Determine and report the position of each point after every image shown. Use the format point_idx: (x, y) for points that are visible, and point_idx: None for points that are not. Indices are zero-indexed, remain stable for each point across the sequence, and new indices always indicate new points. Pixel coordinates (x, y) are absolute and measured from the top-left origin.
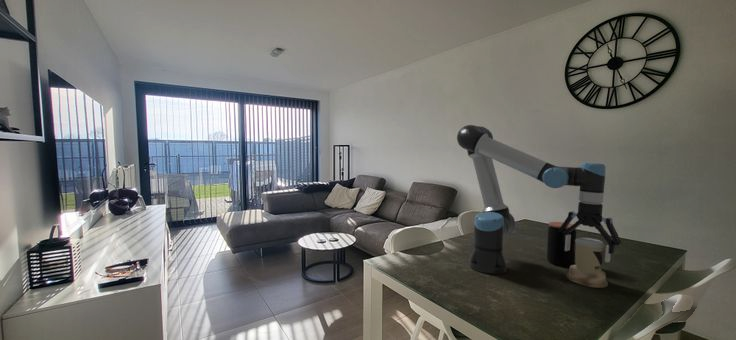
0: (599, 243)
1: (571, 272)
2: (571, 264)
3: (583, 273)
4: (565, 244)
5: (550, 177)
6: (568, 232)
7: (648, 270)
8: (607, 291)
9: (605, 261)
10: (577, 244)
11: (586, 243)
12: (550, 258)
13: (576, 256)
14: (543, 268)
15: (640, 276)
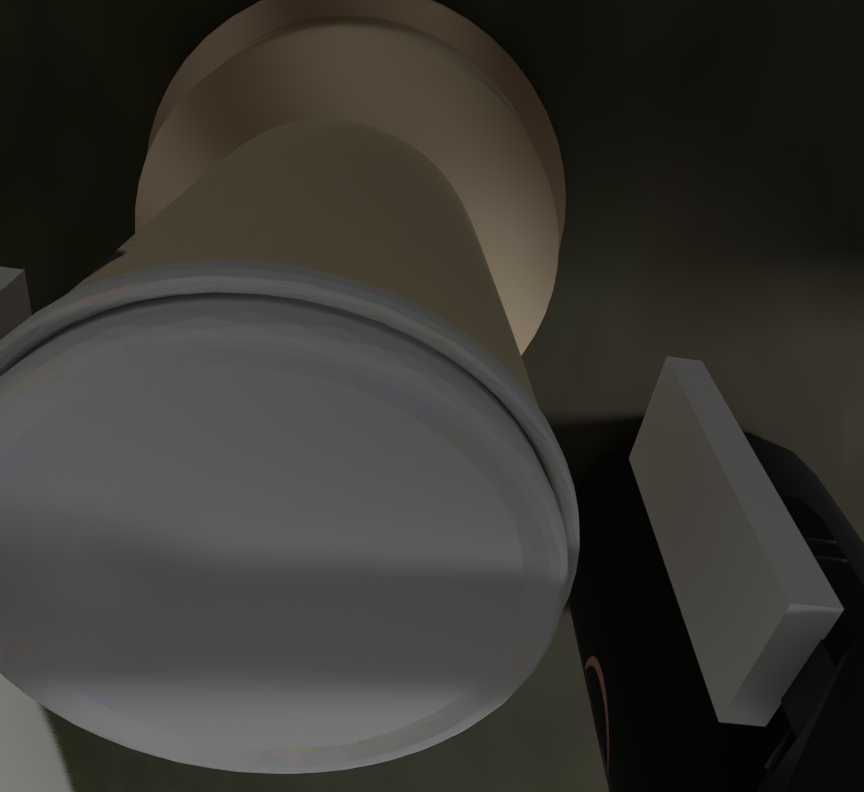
0: (11, 554)
1: (504, 103)
2: (577, 500)
3: (340, 77)
4: (737, 437)
5: None
6: (819, 707)
7: (132, 788)
8: (80, 20)
9: (8, 272)
10: (481, 345)
11: (214, 315)
12: (799, 468)
13: (479, 257)
14: (836, 213)
15: None
